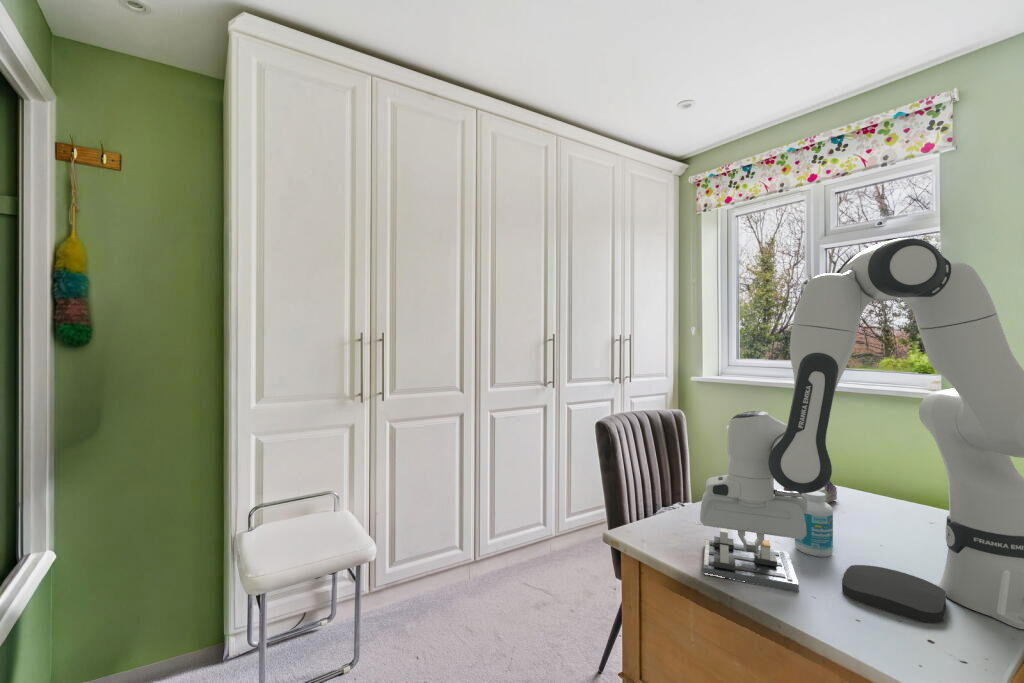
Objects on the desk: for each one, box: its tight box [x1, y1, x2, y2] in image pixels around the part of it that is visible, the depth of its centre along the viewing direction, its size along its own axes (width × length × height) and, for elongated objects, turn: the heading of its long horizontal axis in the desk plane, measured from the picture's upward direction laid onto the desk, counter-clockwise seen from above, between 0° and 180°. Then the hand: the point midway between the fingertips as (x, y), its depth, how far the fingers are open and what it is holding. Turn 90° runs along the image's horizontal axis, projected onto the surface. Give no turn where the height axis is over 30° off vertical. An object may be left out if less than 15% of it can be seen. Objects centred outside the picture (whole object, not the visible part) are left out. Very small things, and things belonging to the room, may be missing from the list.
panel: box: [702, 539, 800, 593], centre depth 100 cm, size 17×16×2 cm
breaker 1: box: [713, 528, 735, 550], centre depth 107 cm, size 4×4×4 cm
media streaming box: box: [841, 564, 947, 625], centre depth 88 cm, size 15×15×3 cm
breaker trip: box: [754, 539, 777, 566], centre depth 99 cm, size 4×4×4 cm
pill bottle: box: [794, 491, 834, 558], centre depth 108 cm, size 8×7×14 cm
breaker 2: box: [714, 544, 735, 570], centre depth 97 cm, size 4×4×4 cm
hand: (750, 551), depth 100 cm, fingers closed
